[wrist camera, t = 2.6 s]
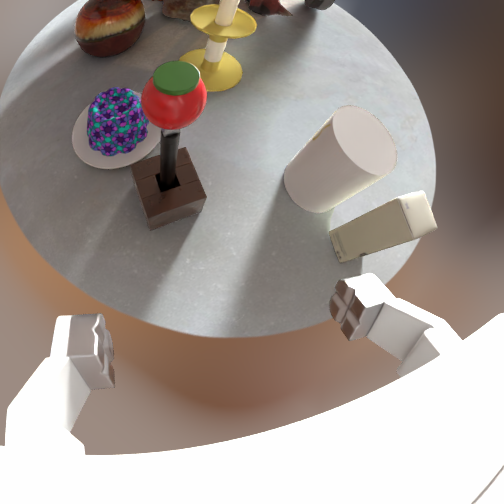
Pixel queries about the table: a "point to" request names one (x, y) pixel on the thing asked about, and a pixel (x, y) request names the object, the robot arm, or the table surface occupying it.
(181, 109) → the joystick
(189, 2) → the brown textured cylinder
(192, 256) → the table surface
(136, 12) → the vase
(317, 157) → the white cylinder
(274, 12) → the stuffed fox
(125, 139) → the pudding
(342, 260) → the box
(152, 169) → the block
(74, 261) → the table surface
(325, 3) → the headphones
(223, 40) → the candle
